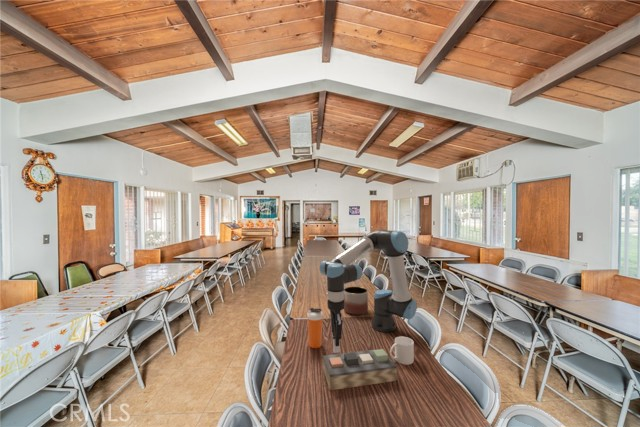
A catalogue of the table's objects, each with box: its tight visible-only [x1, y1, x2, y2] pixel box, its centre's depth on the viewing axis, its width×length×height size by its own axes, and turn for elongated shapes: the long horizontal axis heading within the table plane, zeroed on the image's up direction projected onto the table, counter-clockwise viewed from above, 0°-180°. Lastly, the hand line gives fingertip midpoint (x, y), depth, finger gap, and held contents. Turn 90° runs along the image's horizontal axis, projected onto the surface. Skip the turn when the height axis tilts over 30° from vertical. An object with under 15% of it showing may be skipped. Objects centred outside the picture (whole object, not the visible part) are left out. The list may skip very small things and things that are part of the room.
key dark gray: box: [344, 351, 358, 366], centre depth 112 cm, size 5×5×4 cm
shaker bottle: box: [306, 307, 324, 349], centre depth 139 cm, size 9×9×20 cm
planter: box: [343, 286, 369, 316], centre depth 186 cm, size 18×18×16 cm
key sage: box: [372, 348, 389, 362], centre depth 115 cm, size 5×5×4 cm
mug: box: [389, 335, 415, 366], centre depth 125 cm, size 12×9×9 cm
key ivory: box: [359, 354, 373, 364], centre depth 114 cm, size 5×5×4 cm
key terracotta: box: [329, 357, 343, 368], centre depth 111 cm, size 5×5×4 cm
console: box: [322, 348, 398, 391], centre depth 113 cm, size 30×14×6 cm, turn 101°
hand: (336, 351), depth 111 cm, fingers closed
